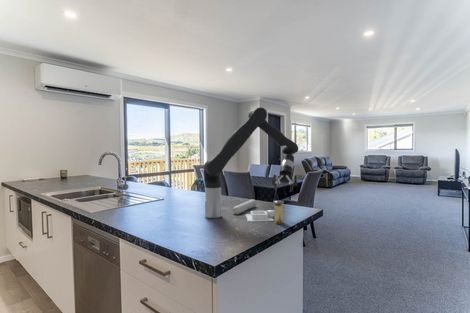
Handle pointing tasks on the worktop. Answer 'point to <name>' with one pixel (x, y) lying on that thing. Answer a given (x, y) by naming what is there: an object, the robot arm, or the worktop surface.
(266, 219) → the socket
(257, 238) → the worktop surface
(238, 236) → the worktop surface
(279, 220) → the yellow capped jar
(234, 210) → the tube
